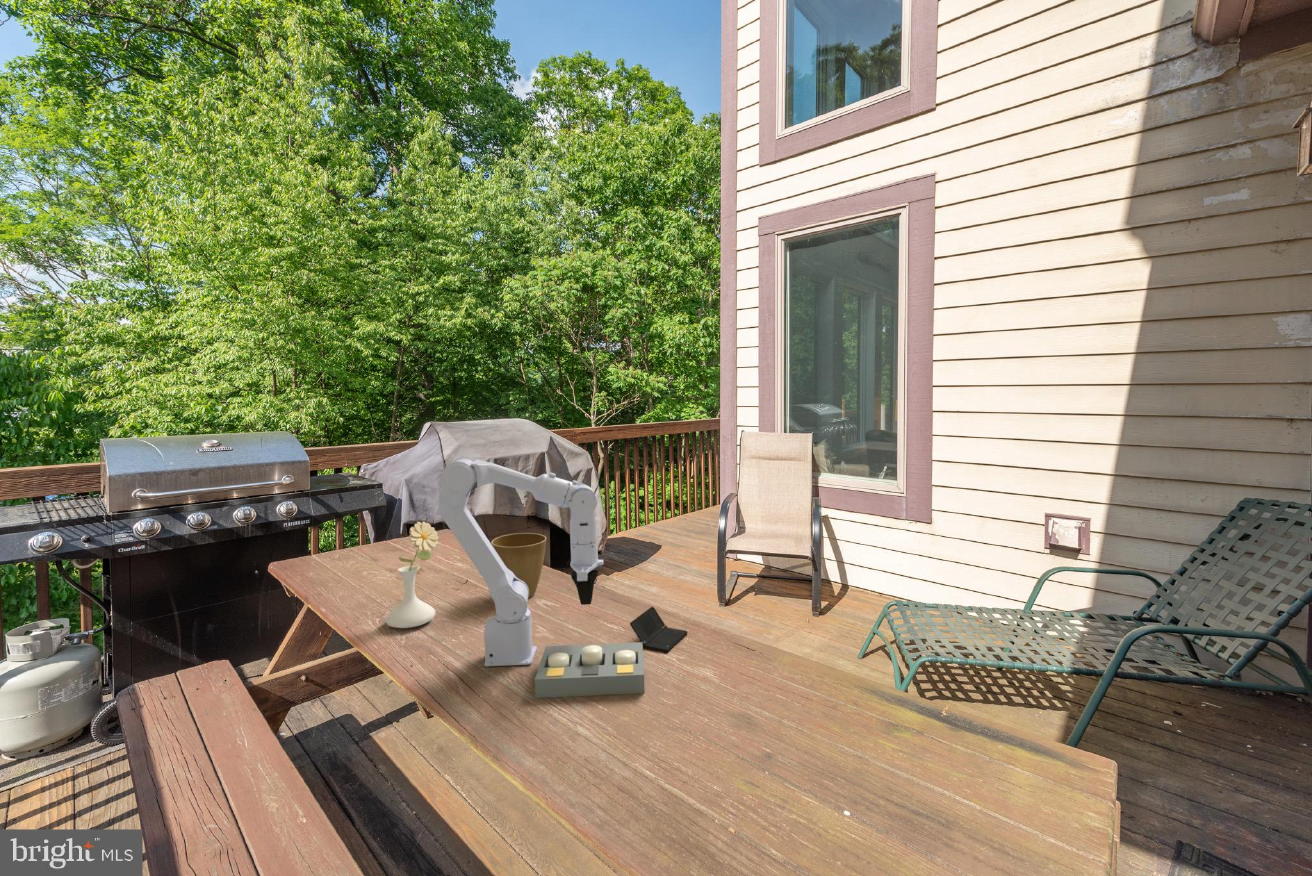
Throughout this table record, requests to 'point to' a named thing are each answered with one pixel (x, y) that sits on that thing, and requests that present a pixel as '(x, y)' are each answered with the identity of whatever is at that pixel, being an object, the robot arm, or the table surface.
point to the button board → (590, 673)
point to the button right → (625, 657)
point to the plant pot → (522, 556)
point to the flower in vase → (411, 607)
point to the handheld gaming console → (656, 632)
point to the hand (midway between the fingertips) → (586, 603)
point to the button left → (558, 660)
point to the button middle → (591, 655)
